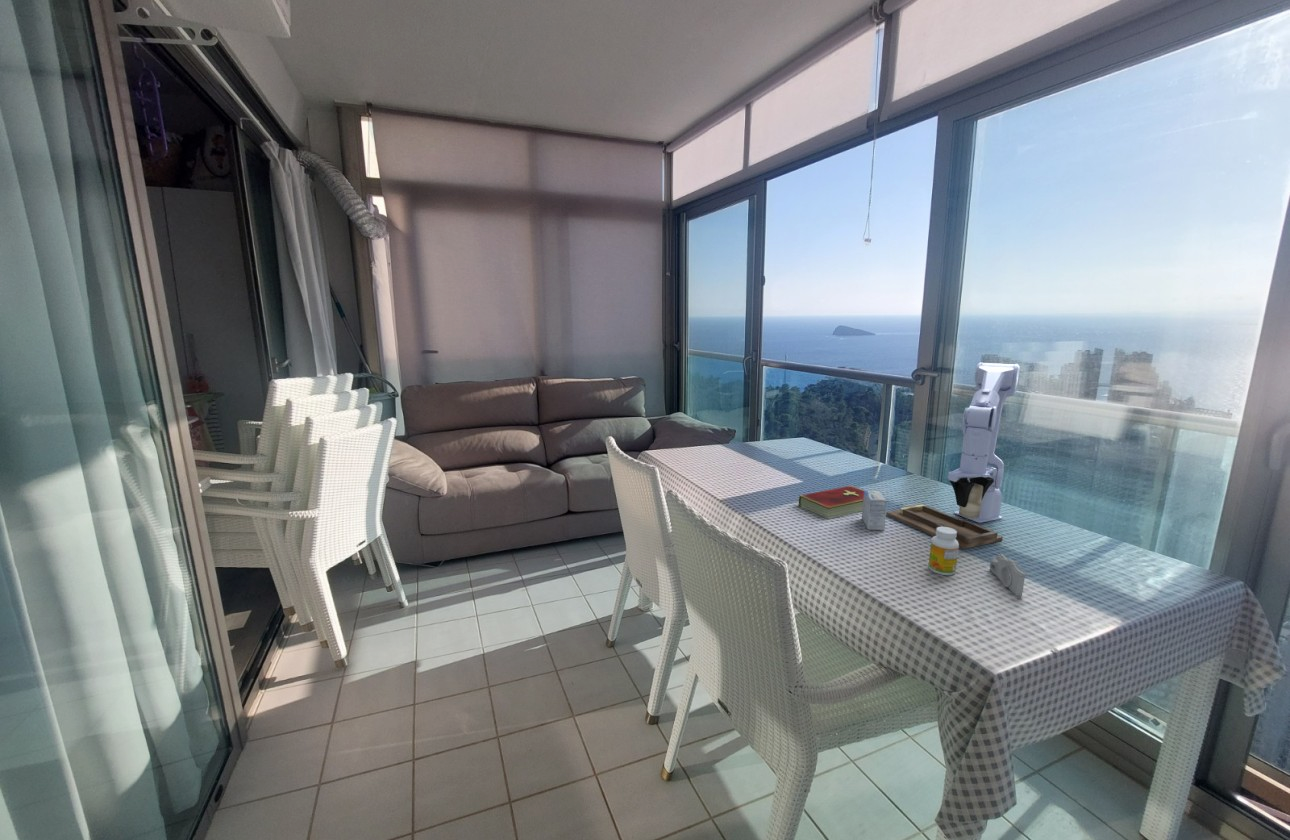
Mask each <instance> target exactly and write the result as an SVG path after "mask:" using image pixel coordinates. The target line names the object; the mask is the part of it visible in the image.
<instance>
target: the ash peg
mask: <svg viewBox="0 0 1290 840" xmlns="http://www.w3.org/2000/svg"><path fill="white" fill-rule="evenodd" d="M974 484H975V485H974V486H973V488H972V489H971V492H970V494H969V498H968V503H967V505H966V507H961V506H959V507H958V511H959V514H960V515H961V516H960V515H959V516H960V517H962V516H964V517H963V518H965V517H967V518H966V519H968V518H979V515H980V508H981V500H982V493H983V486H982V485H980V484H976V483H974Z"/></svg>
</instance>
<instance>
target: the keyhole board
mask: <svg viewBox="0 0 1290 840" xmlns="http://www.w3.org/2000/svg"><path fill="white" fill-rule="evenodd" d="M886 516H887V517H889V518H892V519H893V520H896V521H899V522H901V523H903V524H905V525H908V526H909V527H911V528H913V529H914V528H915V529H916V530H918V531H921V532H923V533H924V534H928V535H930V536H931V537H934V536H937V535H936V528H937V527H949V528H952V529H954V530H956V531H957V535H956V538H955V539H956V540H957V541H958V543H959V549H961V550H965V549H966V550H967V549H972V548H975V547H980V546H984V545H989V544H994V543H998V542H1002V541H1003V536H1000V535H998V532H997V531H994V530H992V529H989V528H986V527H983V526H981V525H979V524H976V523H973V522H971V521H969V520H966V519H961V518H958V517H955V516H953V515H951V514H948V513H945V512H943V511H940V510H938V509H936V508H933V507H931V506H928V505H925V504H923V503H922V504H916V505H911V506H906V507H905V506H904V507H900V508H899V509H896V510H891V511H886Z"/></svg>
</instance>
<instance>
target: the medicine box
mask: <svg viewBox="0 0 1290 840" xmlns="http://www.w3.org/2000/svg"><path fill="white" fill-rule="evenodd" d="M887 502H888V500H886V498H885V497H884V495H883V493H881V491H879V490H864V496H863V509H862V511H861V514H862V515H861V520H862V521H863V523H864V525H865V527H866V528H867V530H871V531H885V530H886V516H887V504H888V503H887Z"/></svg>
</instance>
